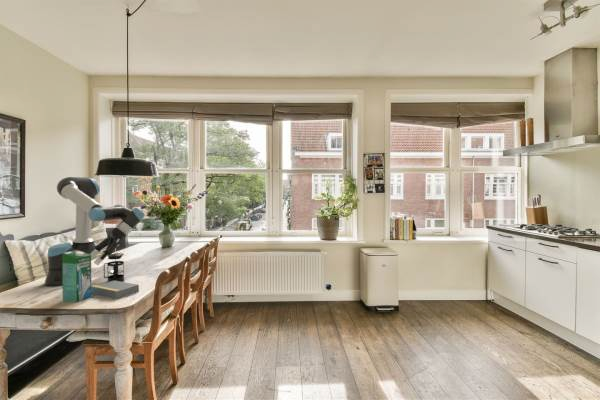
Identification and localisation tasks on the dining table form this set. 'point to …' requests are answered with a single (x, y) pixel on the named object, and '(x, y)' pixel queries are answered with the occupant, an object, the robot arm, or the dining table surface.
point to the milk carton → (76, 276)
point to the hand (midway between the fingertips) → (91, 261)
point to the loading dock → (114, 289)
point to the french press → (115, 267)
